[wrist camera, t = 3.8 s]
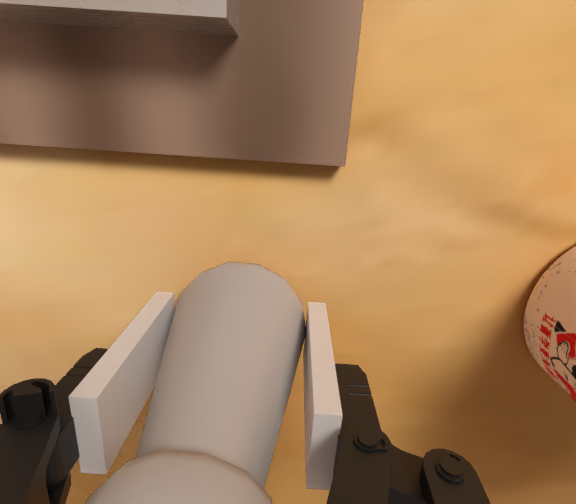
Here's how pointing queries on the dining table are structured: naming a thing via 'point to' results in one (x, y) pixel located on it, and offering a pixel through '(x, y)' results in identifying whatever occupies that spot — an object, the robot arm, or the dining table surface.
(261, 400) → the salt shaker
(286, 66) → the walnut board
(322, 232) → the dining table surface
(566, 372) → the teacup with lid
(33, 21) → the metal collar
